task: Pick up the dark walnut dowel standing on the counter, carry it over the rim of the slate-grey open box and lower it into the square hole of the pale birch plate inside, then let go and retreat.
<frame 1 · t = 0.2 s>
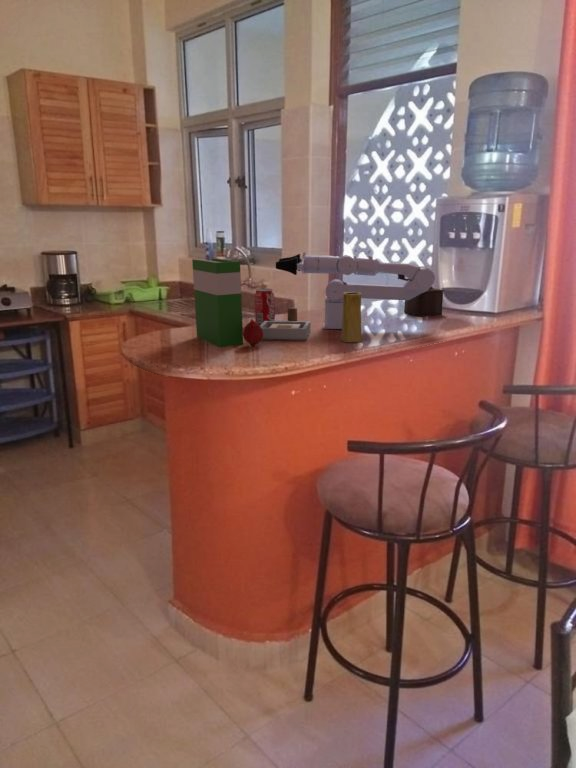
hand: (277, 263, 187), 21 cm above the table, tool horizontal, fingers open, 7 cm apart
soda can: (265, 324, 199), on the table
box: (284, 336, 177), on the table
peg: (292, 329, 188), on the table
vase: (351, 341, 169), on the table
hardback book: (219, 341, 172), on the table
pepper mill: (416, 315, 213), on the table
onion: (253, 346, 164), on the table
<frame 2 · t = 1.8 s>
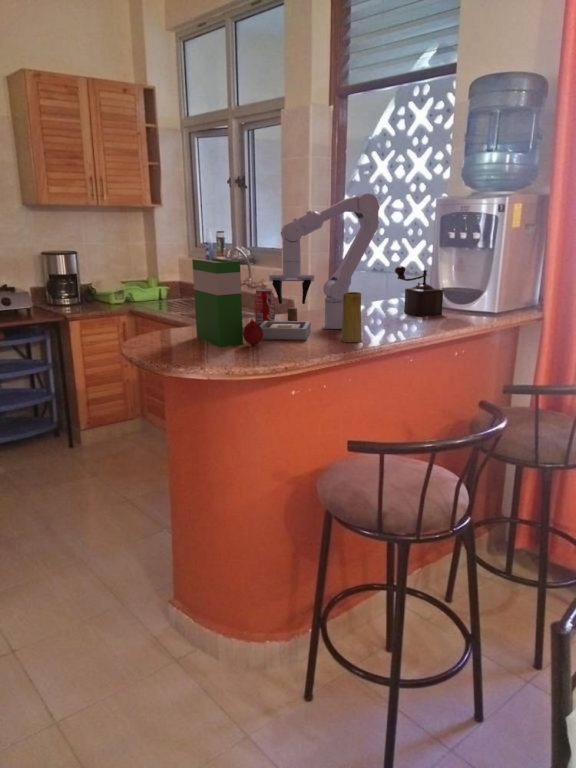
hand: (292, 303, 186), 9 cm above the table, tool pointing down, fingers open, 7 cm apart
nothing on the table moved.
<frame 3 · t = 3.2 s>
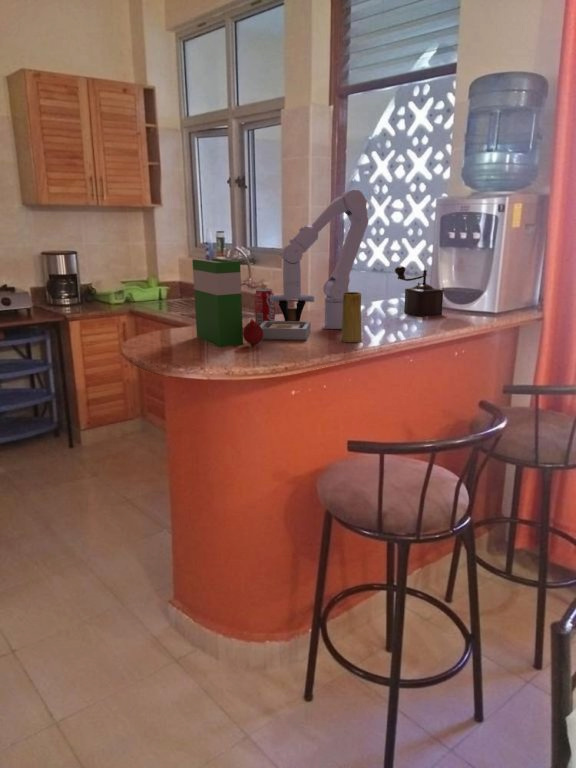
hand: (292, 323, 188), 2 cm above the table, tool pointing down, fingers closed on peg, 3 cm apart
peg: (292, 329, 188), on the table, touching gripper
everything else where it was.
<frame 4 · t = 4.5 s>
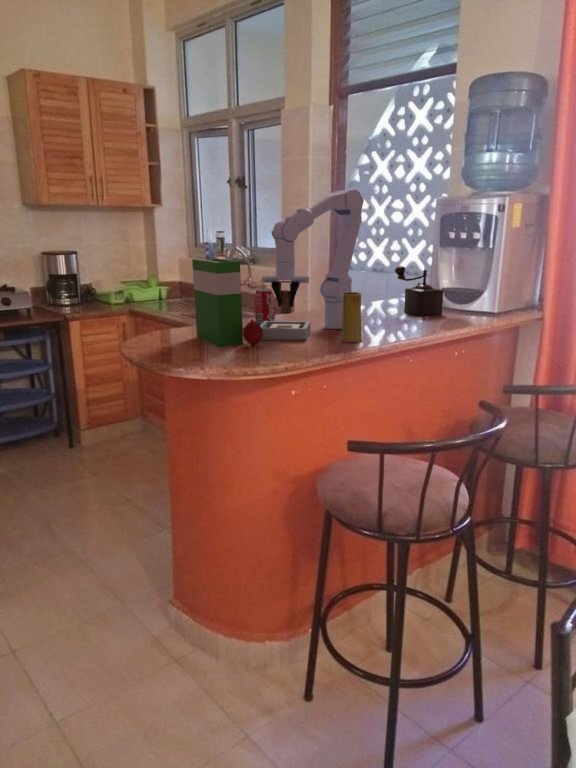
hand: (285, 306, 177), 9 cm above the table, tool pointing down, fingers closed on peg, 3 cm apart
peg: (285, 313, 178), point 7 cm above the table, touching gripper
everything else where it was.
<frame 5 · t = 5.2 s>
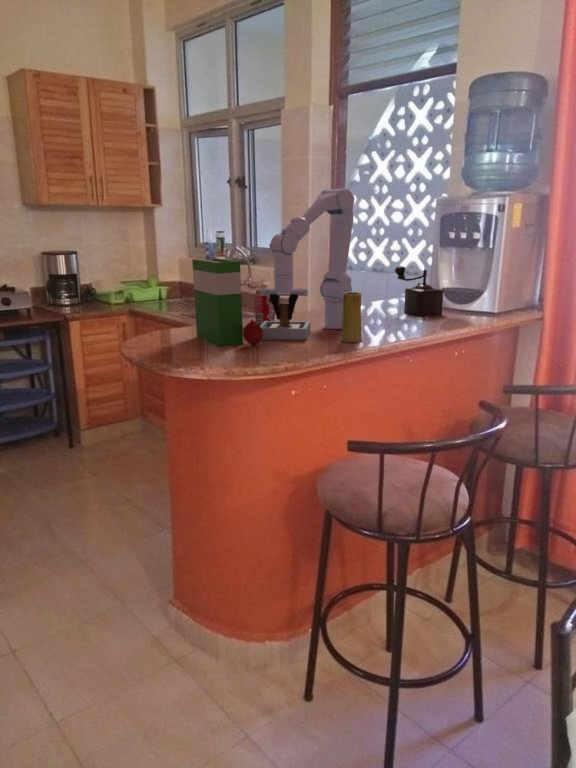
hand: (284, 319, 176), 5 cm above the table, tool pointing down, fingers closed on peg, 3 cm apart
peg: (284, 325, 177), point 3 cm above the table, touching gripper
everything else where it was.
when the fingers open (4 cm above the table, at t = 5.9 s): peg stays where it is, resting on box.
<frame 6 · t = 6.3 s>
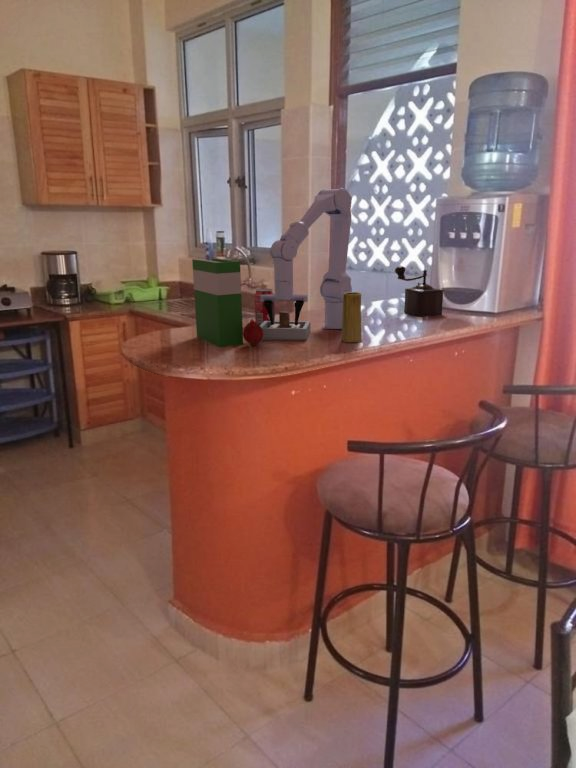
hand: (284, 324, 176), 4 cm above the table, tool pointing down, fingers open, 7 cm apart
peg: (284, 334, 177), point 1 cm above the table, touching box
everything else where it was.
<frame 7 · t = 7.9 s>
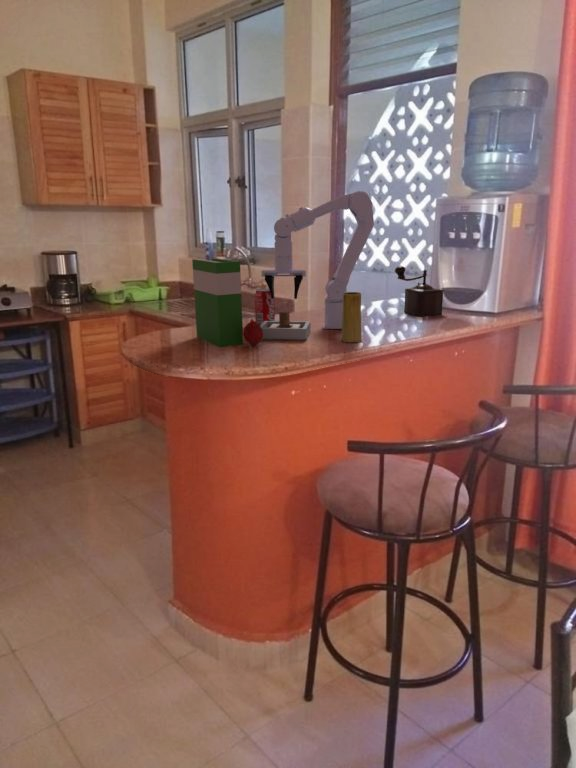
hand: (284, 298, 188), 10 cm above the table, tool pointing down, fingers open, 7 cm apart
nothing on the table moved.
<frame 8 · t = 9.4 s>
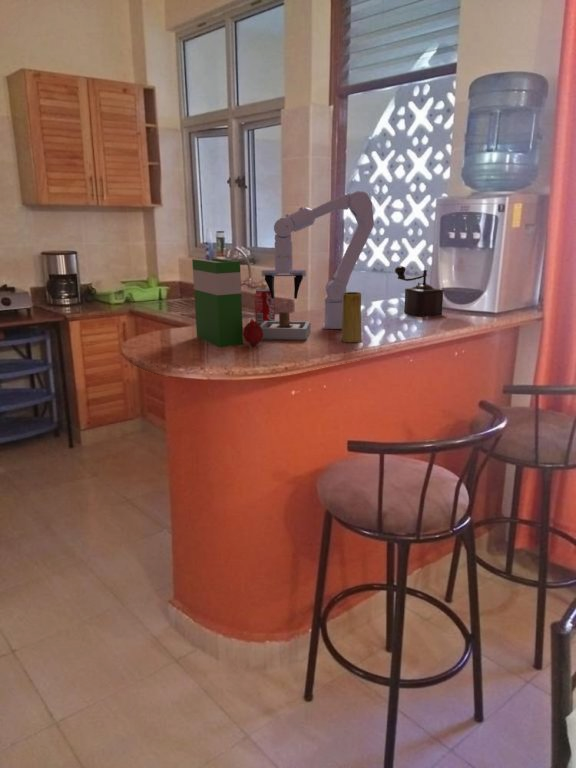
hand: (284, 298, 188), 10 cm above the table, tool pointing down, fingers open, 7 cm apart
nothing on the table moved.
at the end: peg 0.1 cm off-centre on the box, point 0.5 cm above the box's base; peg tilted 0°; the gripper is holding nothing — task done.
